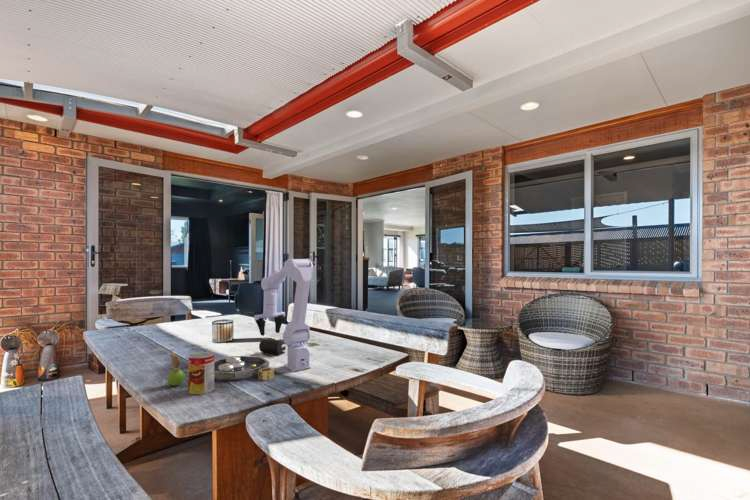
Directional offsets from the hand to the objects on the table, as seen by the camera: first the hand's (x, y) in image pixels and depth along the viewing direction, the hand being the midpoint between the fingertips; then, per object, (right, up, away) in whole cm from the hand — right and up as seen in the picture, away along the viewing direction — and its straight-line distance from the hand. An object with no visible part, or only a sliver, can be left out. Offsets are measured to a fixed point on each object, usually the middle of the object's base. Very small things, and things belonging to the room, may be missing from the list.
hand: (270, 334), depth 164 cm
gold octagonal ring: (+7, -9, -30) cm, 32 cm away
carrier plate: (-6, -9, -23) cm, 25 cm away
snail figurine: (-22, -9, -38) cm, 45 cm away
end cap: (0, -10, +4) cm, 11 cm away
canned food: (-11, -9, -43) cm, 45 cm away
